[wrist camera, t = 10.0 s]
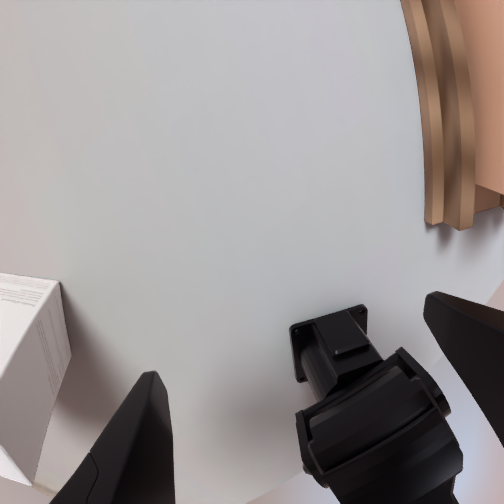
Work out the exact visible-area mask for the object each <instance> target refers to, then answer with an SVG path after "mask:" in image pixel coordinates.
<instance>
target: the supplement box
mask: <svg viewBox="0 0 504 504" xmlns="http://www.w3.org/2000/svg"><path fill="white" fill-rule="evenodd" d="M71 356H72V354H71V350H70V344H69V340H68V335H67V329H66V324H65V318H64V312H63V306H62V300H61V293H60V285H59V281H54V280H48V279H40V278H33V277H27V276H19V275H13V274H6V273H0V476H2V477H5V478H7V479H11V480H13V481H17V482H20V483H23V484H26V485H29V486H33V483H34V479H35V475H36V471H37V467H38V462H39V458H40V455H41V450H42V446H43V443H44V439H45V435H46V432H47V428H48V424H49V421H50V417H51V414H52V411H53V408H54V405H55V401H56V398H57V395H58V392H59V389H60V386H61V383H62V380H63V378H64V375H65V372H66V370H67V367H68V364H69V361H70V359H71Z"/></svg>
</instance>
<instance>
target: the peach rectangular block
mask: <svg viewBox="0 0 504 504" xmlns="http://www.w3.org/2000/svg"><path fill="white" fill-rule="evenodd" d="M454 3H455V6H456V10H457V14H458V18H459V22H460V26H461V31H462V36H463V40H464V45H465V51H466V56H467V62H468V69H469V76H470V83H471V92H472V101H473V113H474V128H475V184H478V185H480V186H483V187H485V188H488V189H491V190H493V191H496V192H498V193H501V194H503V195H504V0H454Z"/></svg>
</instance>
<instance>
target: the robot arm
mask: <svg viewBox="0 0 504 504" xmlns="http://www.w3.org/2000/svg"><path fill="white" fill-rule="evenodd" d="M361 310H362V311H361ZM360 311H361V312H360ZM367 313H368V310H367V308H366V307H365V306H364V305H363V304H361V305H357V306H354V307H351V308H348V309H345V310H341V311H338V312H335V313H331V314H328V315H325V316H321V317H318V318H314V319H311V320H307V321H304V322H300V323H297V324H294V325H292V326H291V327H290V328H289V333H290V340H291V347H292V354H293V361H294V369H295V376H296V379H297V382H299V383H302V382H306V381H308V382H309V384H310V386H311V388H312V391H313V393H314V395H315V398H316V400H317V402H318V403H316V404H314V405H312V406H311V407H309V408H307V409H305V410H301V411H299V412H297V413H295V415H296V421H297V423H296V427H297V433H298V439H299V445H300V452H301V458H302V461H303V469H304V471H305V473H307V474H309V475H312V476H313V477H314V479H315V480H316V481H317V482H318V483H319V484H320V485H321V486H322V487H324V488H328V487H330V489H331V490H332V492H333V493H334V495H335V496H336V498H337V499H338V501H339V502H340V504H459V503H458V501H457V499H456V498H455V496H454V494H453V489H454V483H455V477H456V475H457V474H459V473H460V472H461V471H462V469H463V453H462V451H461V450H460V448H459V443H458V441H457V439H456V437H455V436H454V434H453V432H452V430H451V428H450V426H449V425H448V423H447V421H446V419H445V417H446V416H448V415H449V414H450V413H451V409H450V406H449V404H448V402H447V400H446V398H445V396H444V394H443V392H442V391H441V389H440V388H439V386H438V385H437V383H436V382H435V381H434V379H433V378H432V377H431V376H430V375H429V374H428V372H427V371H426V370H425V369H424V368H423V367H422V366H421V365H420V364H419V363H418V362H417V361H416V360H415V359H414V358H413V357H412V356H411V355H410V354H409V353H408V352H407V351H406V350H405V349H404V348H403V347H400V348H399V349H398V350H396V351H395V352H396V353H394V354H393V355H391V356H390V357H388V358H387V359H386V360H383V359H382V357H381V356H380V354H379V353H378V352H377V350H376V349H375V347H374V346H373V345H372V343H371V342H370V340H369V339H368V337H367ZM423 316H424V320H425V322H426V323H427V325H428V327H429V329H430V330H431V332H432V334H433V335H434V337H435V339H436V341H437V343H438V344H439V346H440V348H441V350H442V351H443V353H444V354H445V356H446V357H447V359H448V360H449V362H450V363H451V365H452V366H453V367H454V369H455V370H456V372H457V373H458V375H459V376H460V378H461V379H462V380H463V382H464V384H465V385H466V387H467V388H468V389H469V391H470V393H471V394H472V396H473V397H474V399H475V401H476V402H477V404H478V405H479V407H480V408H481V410H482V411H483V413H484V415H485V417H486V418H487V420H488V421H489V423H490V425H491V426H492V428H493V430H494V431H495V433H496V435H497V436H498V438H499V440H500V442H501V444H502V445H503V447H504V311H501V310H497V309H494V308H491V307H488V306H485V305H481V304H478V303H475V302H472V301H468V300H465V299H462V298H458V297H455V296H452V295H449V294H445V293H442V292H439V291H435V292H432V293H430V294H428V295H427V296H426V298H425V305H424V312H423ZM297 329H298V330H297ZM295 330H297V331H296V332H294V331H295ZM301 377H302V378H301ZM49 504H175V485H174V459H173V433H172V426H171V418H170V410H169V402H168V394H167V390H166V388H165V386H164V384H163V382H162V380H161V378H160V376H159V374H158V373H157V372H156V371H149V372H144V373H143V374H142V375H141V376H140V378H139V379H138V381H137V382H136V384H135V385H134V386H133V388H132V389H131V391H130V392H129V394H128V395H127V397H126V398H125V400H124V401H123V402H122V404H121V405H120V407H119V408H118V410H117V411H116V413H115V414H114V416H113V417H112V419H111V420H110V421H109V423H108V424H107V426H106V427H105V429H104V430H103V432H102V433H101V435H100V436H99V438H98V439H97V441H96V442H95V444H94V445H93V447H92V448H91V450H90V453H88V454H87V455H86V457H85V458H84V460H83V461H82V463H81V464H80V466H79V467H78V468H77V470H76V471H75V473H74V474H73V475H72V476H71V478H70V479H69V480H68V481H67V483H66V484H65V485H64V486H63V488H62V489H61V490H60V491H59V492H58V494H57V495H56V496H55V497H54V498H53V499H52V501H51V502H50V503H49Z"/></svg>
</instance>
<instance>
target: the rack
mask: <svg viewBox="0 0 504 504" xmlns="http://www.w3.org/2000/svg"><path fill="white" fill-rule="evenodd" d="M401 4H402V8H403V12H404V16H405V20H406V24H407V29H408V33H409V38H410V43H411V48H412V54H413V59H414V65H415V71H416V78H417V85H418V92H419V100H420V109H421V119H422V131H423V145H424V167H425V221H426V222H428V223H430V224H431V225H434V224H437V223H441V222H444V223H446V224H448V225H449V226H451V227H453V228H455V229H457V230H458V231H460V230H464V229H467V228H470V227H472V225H473V214H474V213H477V212H481V211H484V210H488V209H491V208H495V207H498V206H500V207H502V208H504V195H503V194H501V193H498V192H496V191H493V190H491V189H488V188H485V187H483V186H480V185H478V184H475V128H474V113H473V101H472V92H471V83H470V76H469V69H468V62H467V56H466V51H465V45H464V40H463V36H462V31H461V26H460V22H459V18H458V14H457V10H456V6H455V3H454V0H401Z"/></svg>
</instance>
